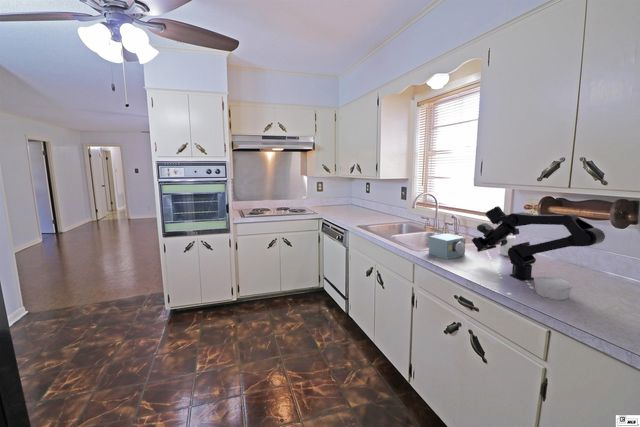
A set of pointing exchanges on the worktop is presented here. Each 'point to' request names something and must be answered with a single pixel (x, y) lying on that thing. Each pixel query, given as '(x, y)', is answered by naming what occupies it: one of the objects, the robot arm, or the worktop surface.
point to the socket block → (445, 245)
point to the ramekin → (552, 288)
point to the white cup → (504, 249)
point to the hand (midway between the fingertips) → (477, 250)
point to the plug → (459, 247)
